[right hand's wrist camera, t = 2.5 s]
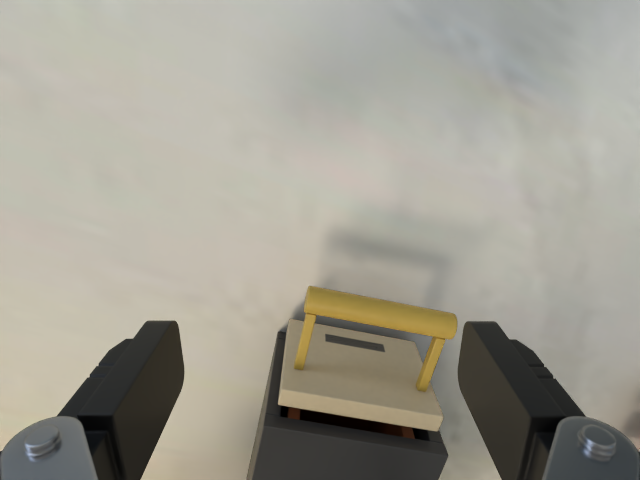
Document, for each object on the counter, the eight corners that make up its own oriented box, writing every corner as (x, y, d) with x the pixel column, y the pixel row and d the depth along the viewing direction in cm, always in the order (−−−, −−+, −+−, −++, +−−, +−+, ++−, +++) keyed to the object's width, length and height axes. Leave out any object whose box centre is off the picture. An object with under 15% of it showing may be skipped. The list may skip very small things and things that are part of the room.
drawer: (304, 250, 29) (300, 304, 22) (437, 277, 30) (476, 337, 23) (257, 464, 36) (241, 560, 29) (366, 481, 37) (378, 579, 30)
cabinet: (278, 331, 33) (263, 425, 23) (412, 355, 33) (448, 455, 24) (246, 479, 38) (224, 603, 29) (362, 497, 39) (377, 623, 30)
